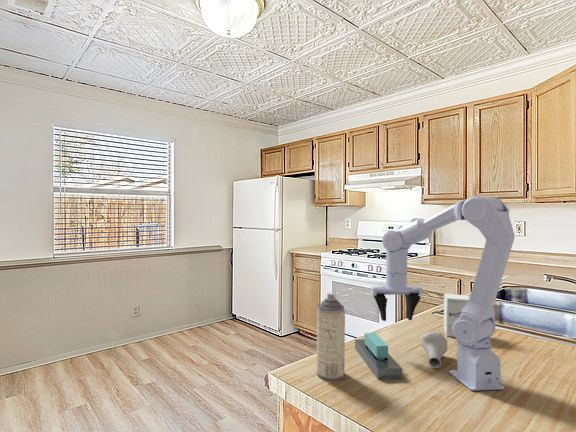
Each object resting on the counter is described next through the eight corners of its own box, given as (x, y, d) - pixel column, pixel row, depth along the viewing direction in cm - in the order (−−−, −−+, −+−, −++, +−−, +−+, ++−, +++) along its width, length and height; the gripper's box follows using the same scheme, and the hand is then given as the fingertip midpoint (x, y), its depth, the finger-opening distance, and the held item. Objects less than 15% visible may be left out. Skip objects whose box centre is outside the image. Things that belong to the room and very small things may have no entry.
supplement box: (446, 336, 116) (446, 298, 116) (443, 329, 123) (443, 293, 123) (471, 339, 114) (471, 299, 114) (466, 331, 121) (467, 294, 121)
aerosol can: (349, 377, 88) (350, 295, 87) (325, 382, 85) (326, 298, 84) (334, 366, 94) (335, 289, 94) (311, 371, 91) (312, 292, 91)
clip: (388, 369, 92) (388, 345, 92) (376, 369, 92) (376, 346, 92) (374, 353, 102) (375, 332, 102) (364, 354, 102) (364, 333, 102)
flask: (443, 328, 100) (445, 348, 91) (451, 352, 101) (454, 373, 91) (416, 333, 103) (416, 352, 94) (425, 355, 103) (425, 377, 94)
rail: (402, 378, 87) (402, 368, 87) (377, 379, 87) (378, 369, 86) (374, 347, 107) (374, 339, 107) (354, 348, 106) (354, 339, 106)
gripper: (414, 269, 108) (414, 314, 108) (367, 270, 106) (367, 316, 107) (425, 273, 101) (425, 322, 101) (375, 274, 99) (375, 323, 100)
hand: (396, 319), depth 103 cm, fingers open, 7 cm apart
